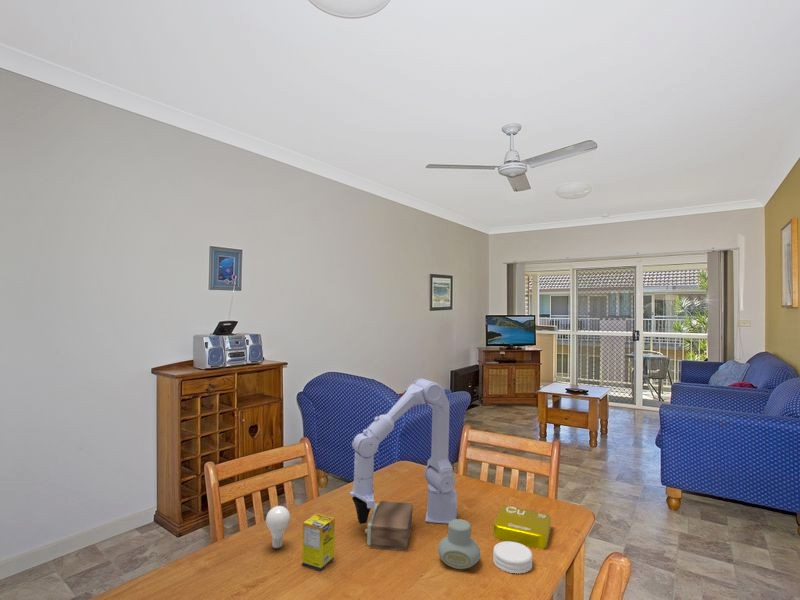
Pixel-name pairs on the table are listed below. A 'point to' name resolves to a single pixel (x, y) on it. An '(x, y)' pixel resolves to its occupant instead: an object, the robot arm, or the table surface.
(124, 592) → the table surface
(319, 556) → the supplement box
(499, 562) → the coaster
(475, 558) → the air freshener
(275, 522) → the lightbulb
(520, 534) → the element tile
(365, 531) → the cabinet door
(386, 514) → the walnut cabinet
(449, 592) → the table surface
